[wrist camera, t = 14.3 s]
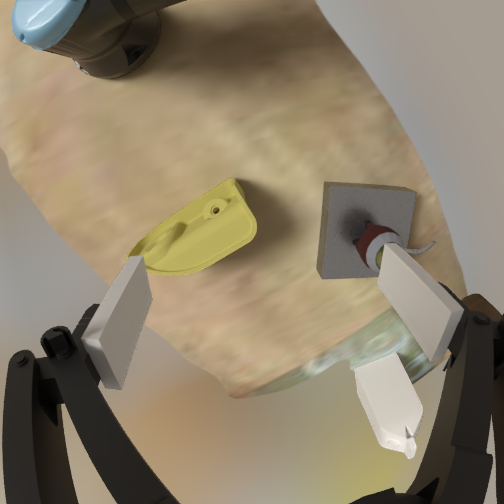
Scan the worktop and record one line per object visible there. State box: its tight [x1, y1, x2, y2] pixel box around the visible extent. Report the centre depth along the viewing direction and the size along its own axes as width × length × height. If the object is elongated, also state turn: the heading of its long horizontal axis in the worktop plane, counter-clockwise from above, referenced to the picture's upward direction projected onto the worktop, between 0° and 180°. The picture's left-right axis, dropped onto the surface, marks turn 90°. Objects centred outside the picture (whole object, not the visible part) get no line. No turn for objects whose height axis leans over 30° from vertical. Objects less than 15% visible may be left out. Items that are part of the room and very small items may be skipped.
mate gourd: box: [352, 220, 436, 273], centre depth 40 cm, size 8×8×15 cm
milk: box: [354, 352, 423, 459], centre depth 56 cm, size 12×12×26 cm
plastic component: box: [126, 177, 257, 276], centre depth 45 cm, size 20×7×10 cm, turn 121°
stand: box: [316, 182, 416, 279], centre depth 49 cm, size 16×16×4 cm
